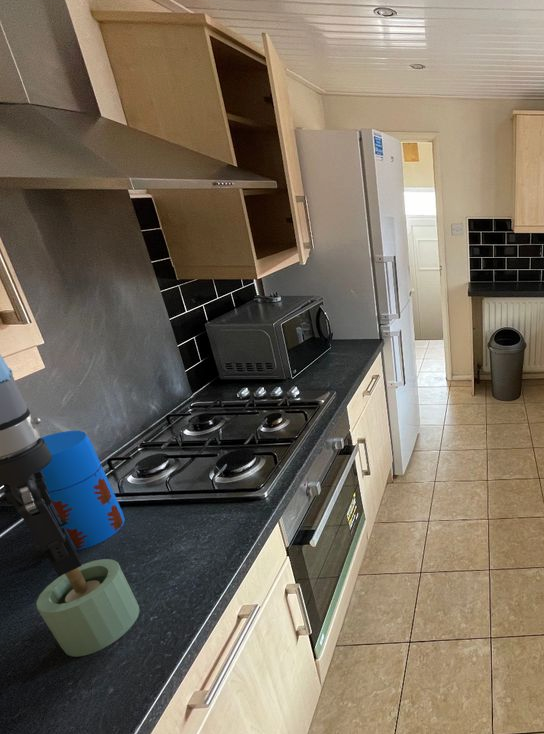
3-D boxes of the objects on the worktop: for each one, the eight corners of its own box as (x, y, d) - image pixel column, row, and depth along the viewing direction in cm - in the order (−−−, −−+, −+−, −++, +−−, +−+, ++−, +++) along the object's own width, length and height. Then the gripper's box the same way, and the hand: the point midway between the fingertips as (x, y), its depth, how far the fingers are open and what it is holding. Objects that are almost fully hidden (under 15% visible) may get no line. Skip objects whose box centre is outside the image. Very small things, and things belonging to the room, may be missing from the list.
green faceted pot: (67, 670, 69) (39, 625, 65) (59, 630, 75) (33, 587, 71) (145, 623, 76) (124, 580, 72) (132, 591, 82) (112, 549, 78)
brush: (77, 626, 71) (29, 542, 64) (73, 610, 73) (26, 528, 66) (111, 607, 74) (69, 525, 67) (106, 592, 76) (65, 512, 69)
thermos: (114, 513, 101) (73, 425, 92) (137, 528, 97) (97, 437, 87) (53, 545, 92) (2, 451, 83) (76, 563, 88) (24, 467, 78)
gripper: (48, 456, 59) (107, 575, 68) (38, 421, 68) (91, 531, 77) (-35, 483, 54) (41, 609, 63) (-35, 441, 62) (32, 557, 71)
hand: (68, 565), depth 70 cm, fingers closed on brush, 2 cm apart
